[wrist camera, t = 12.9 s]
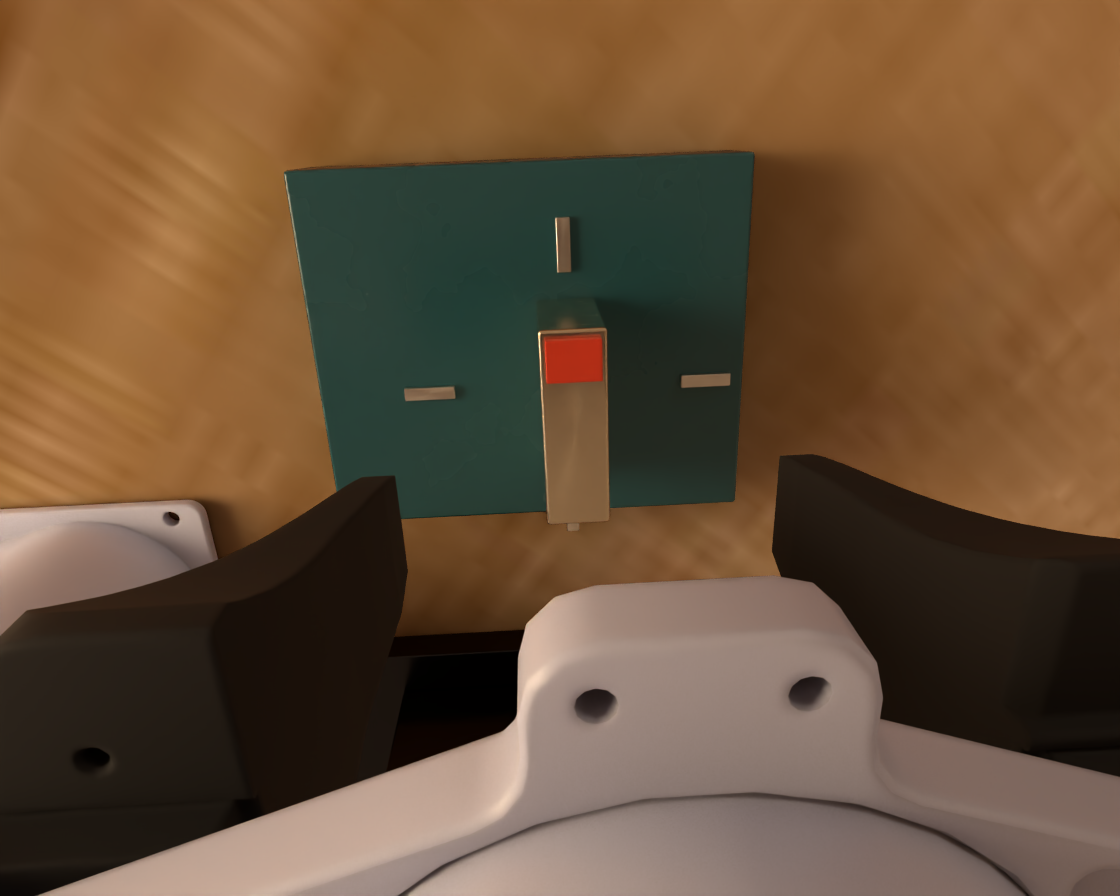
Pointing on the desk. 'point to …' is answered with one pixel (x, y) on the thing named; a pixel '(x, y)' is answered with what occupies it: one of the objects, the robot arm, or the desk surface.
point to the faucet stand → (440, 697)
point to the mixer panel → (525, 319)
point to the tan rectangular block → (574, 409)
